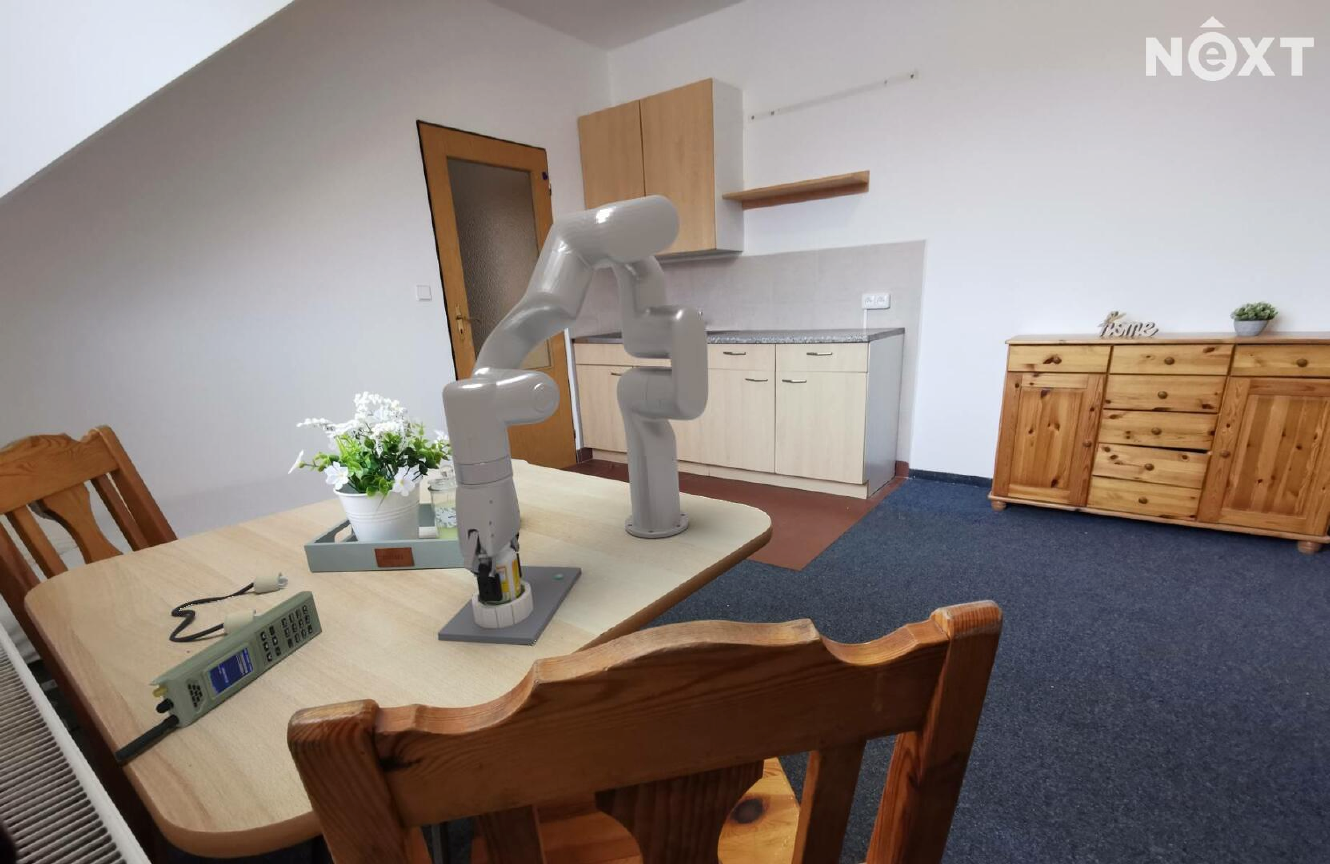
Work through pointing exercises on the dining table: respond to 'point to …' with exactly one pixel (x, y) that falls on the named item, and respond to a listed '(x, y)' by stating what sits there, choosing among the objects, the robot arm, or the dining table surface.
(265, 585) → the cable
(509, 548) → the supplement bottle
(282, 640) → the handheld radio
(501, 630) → the charging dock
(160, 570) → the dining table surface
